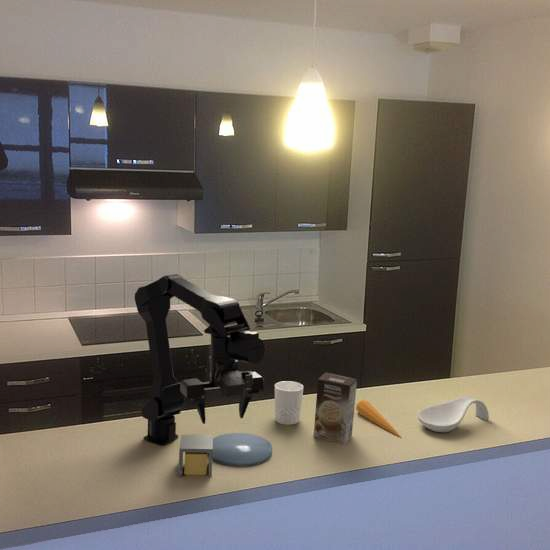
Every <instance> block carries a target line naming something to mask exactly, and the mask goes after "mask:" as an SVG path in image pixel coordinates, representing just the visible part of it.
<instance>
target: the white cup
mask: <svg viewBox="0 0 550 550" xmlns="http://www.w3.org/2000/svg"><path fill="white" fill-rule="evenodd" d="M303 394H304V385H303V384H301V382H297V381H290V380H286V381H284V380H282V381H279V382H276V383H275V384H274V420H275V421H276V422H277V423H278V424H282V425H285V426H286V425H287V426H288V425H290V426H292V425H296V424H299V423H300V421H301V419H300V418H301V411H302V403H303V396H304V395H303Z"/></svg>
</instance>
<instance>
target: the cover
mask: <svg viewBox="0 0 550 550" xmlns="http://www.w3.org/2000/svg"><path fill="white" fill-rule="evenodd" d="M213 438H214V435H210V434H181V435H180V440H179V441H180V442H179V452H178V453H179V454H178V455H179V456H178V478H182V474H183V466H184V453H185V452H210V456H209V463H208V477H209V478H212V476H213V475H212V474H213V473H212V472H213V471H212V470H213V459H212V451H213Z"/></svg>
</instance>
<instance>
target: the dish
mask: <svg viewBox="0 0 550 550" xmlns="http://www.w3.org/2000/svg"><path fill="white" fill-rule="evenodd" d="M272 453H273V445H272V443H271V442H270V441H269V440H268V439H266V438H265V437H262V436H260V435H256V434H252V433H246V432H232V433H225V434H220V435H218V436H214V437H213V451H212V460H214V461H215V462H218V463H220V464H224V465H228V466H236V467H246V466H247V467H249V466H250V467H251V466H254V465H255V466H256V465H259V464H261V463H264V462H266V461H267V460H269V459H270V458H271V457H272ZM207 456H209V457H210V452H207Z"/></svg>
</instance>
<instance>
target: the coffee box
mask: <svg viewBox="0 0 550 550" xmlns="http://www.w3.org/2000/svg"><path fill="white" fill-rule="evenodd" d="M357 384H358V379H357V378H353V377H350V376H344V375H340V374H336V373H331V372H324V373H323V374H322V375H321V376H320V377H319V378H318V379H317V386H316V387H317V389H316V398H315V399H316V402H315V414H314V428H313V437H316V438H320V439H323V440H327V441H332V442H335V443H338V444H339V443H340V444H343V445H346V443H348V441H349V440H350V439H351V438H352V436H353V428H354V427H353V426H354V416H355V408H356V407H355V405H356V396H357V395H356V393H357Z"/></svg>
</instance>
